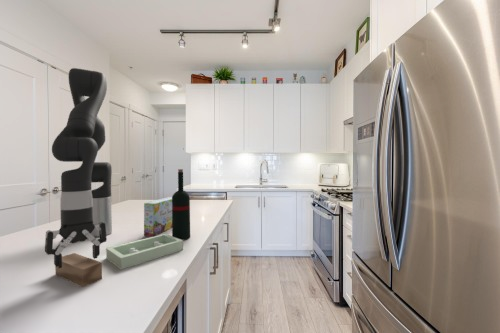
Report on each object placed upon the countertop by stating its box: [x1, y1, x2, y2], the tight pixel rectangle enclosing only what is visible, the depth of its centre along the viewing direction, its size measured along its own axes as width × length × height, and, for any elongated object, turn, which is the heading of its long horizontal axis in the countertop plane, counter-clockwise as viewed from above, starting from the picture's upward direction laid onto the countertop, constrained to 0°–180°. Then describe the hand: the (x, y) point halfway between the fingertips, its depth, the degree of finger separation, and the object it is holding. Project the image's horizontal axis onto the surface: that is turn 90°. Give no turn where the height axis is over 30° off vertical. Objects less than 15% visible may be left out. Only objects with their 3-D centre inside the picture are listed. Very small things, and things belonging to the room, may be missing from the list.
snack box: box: [143, 196, 172, 238], centre depth 116 cm, size 21×6×15 cm, turn 168°
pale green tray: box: [105, 233, 184, 270], centre depth 86 cm, size 13×22×4 cm, turn 138°
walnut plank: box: [54, 252, 103, 288], centre depth 69 cm, size 5×15×5 cm, turn 61°
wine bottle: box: [171, 168, 191, 241], centre depth 105 cm, size 8×10×30 cm
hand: (78, 262), depth 69 cm, fingers open, 8 cm apart
